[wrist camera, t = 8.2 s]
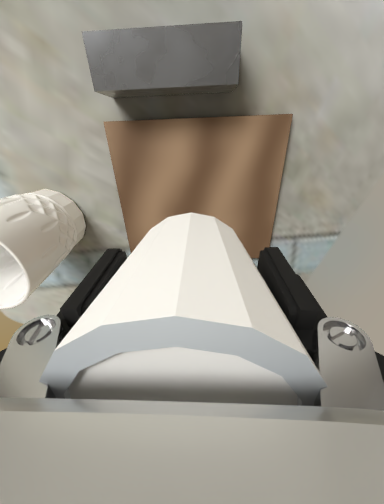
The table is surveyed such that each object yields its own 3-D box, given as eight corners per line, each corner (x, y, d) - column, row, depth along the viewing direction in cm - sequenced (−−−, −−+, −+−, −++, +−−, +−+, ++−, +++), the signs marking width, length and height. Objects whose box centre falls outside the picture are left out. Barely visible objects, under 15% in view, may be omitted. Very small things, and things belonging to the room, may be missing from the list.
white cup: (98, 250, 25) (44, 311, 17) (35, 248, 26) (-50, 307, 17) (81, 183, 21) (0, 219, 13) (7, 182, 22) (-122, 216, 13)
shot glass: (147, 175, 9) (37, 267, 3) (284, 231, 10) (412, 382, 4) (116, 289, 12) (33, 443, 6) (222, 321, 13) (240, 481, 7)
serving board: (290, 114, 18) (292, 113, 17) (266, 255, 25) (267, 258, 24) (106, 122, 19) (103, 121, 18) (133, 256, 26) (132, 258, 25)
